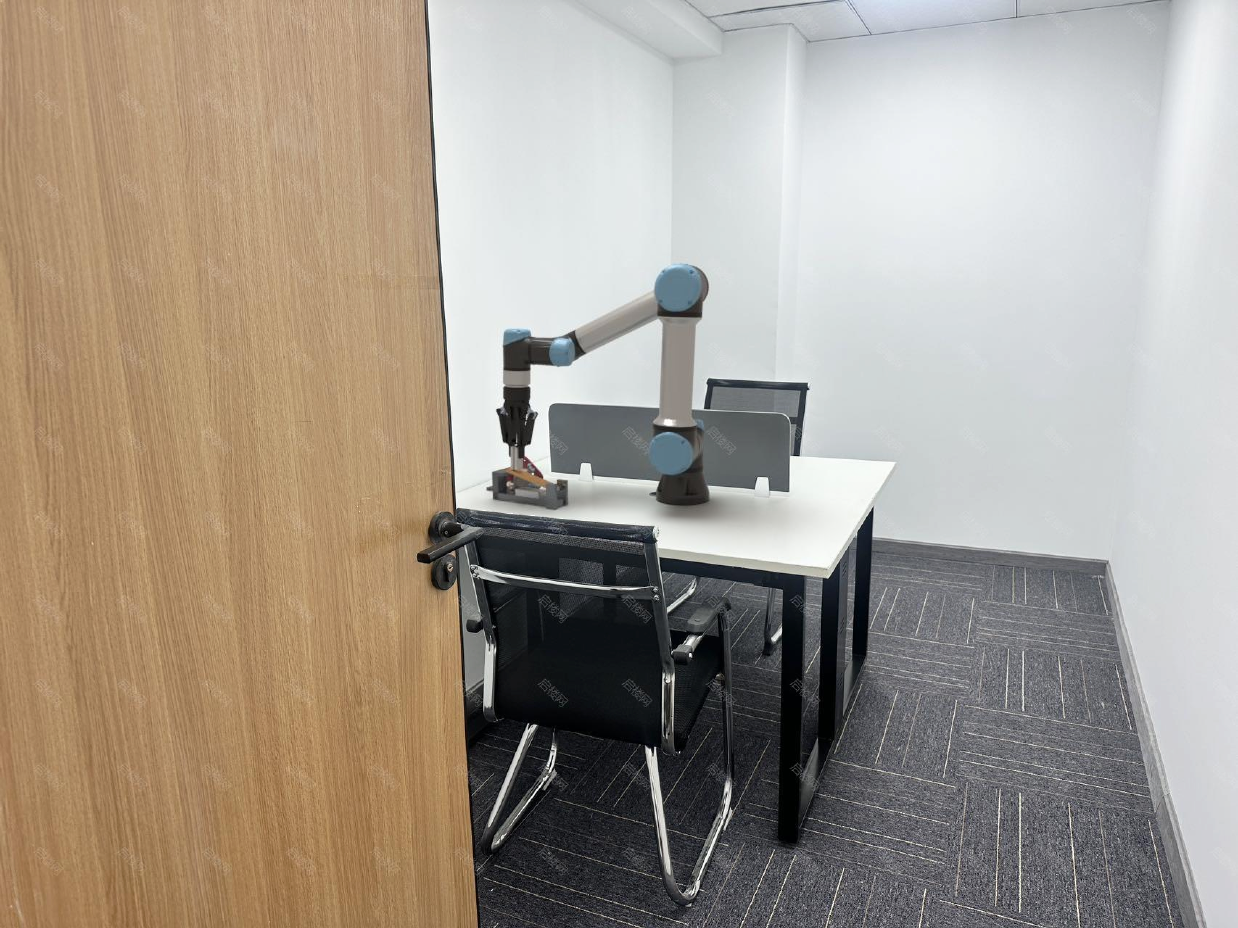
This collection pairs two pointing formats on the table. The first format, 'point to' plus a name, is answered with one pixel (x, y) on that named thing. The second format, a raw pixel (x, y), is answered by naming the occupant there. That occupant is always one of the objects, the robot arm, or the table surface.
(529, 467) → the brake caliper
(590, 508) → the table surface
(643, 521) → the table surface
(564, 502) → the clip base
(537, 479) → the tan wooden flat bar
